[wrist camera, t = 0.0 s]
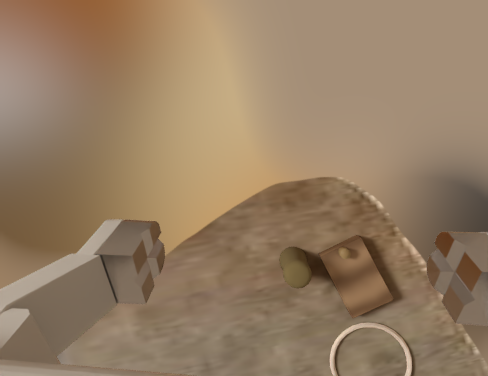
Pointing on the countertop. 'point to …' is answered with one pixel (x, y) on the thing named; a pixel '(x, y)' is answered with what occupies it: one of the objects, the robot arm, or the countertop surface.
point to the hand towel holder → (371, 325)
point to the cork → (295, 267)
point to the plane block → (355, 276)
